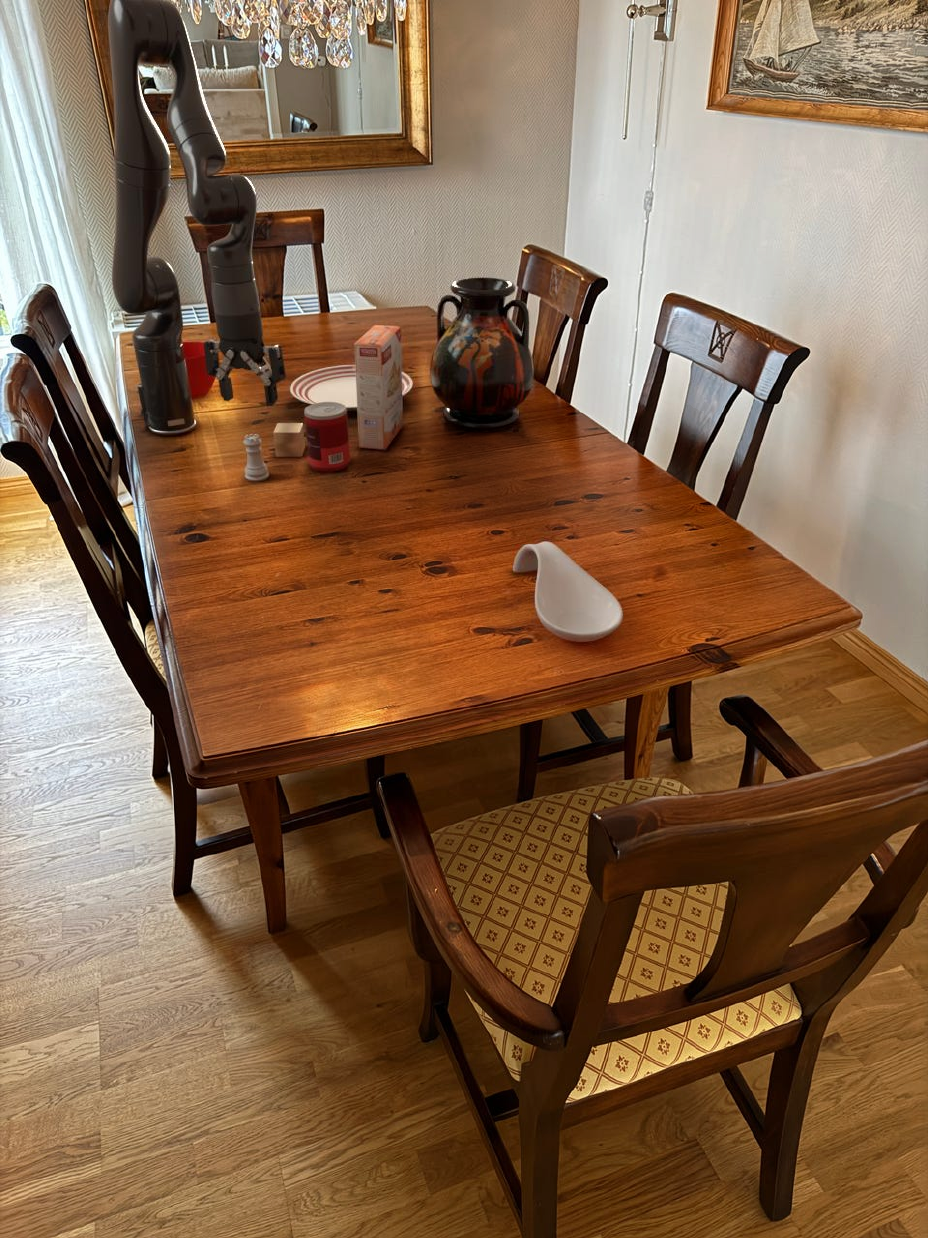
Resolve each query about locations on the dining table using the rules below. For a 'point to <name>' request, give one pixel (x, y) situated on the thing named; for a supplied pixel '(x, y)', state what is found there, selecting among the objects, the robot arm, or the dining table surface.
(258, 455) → the rook chess piece
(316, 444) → the canned food
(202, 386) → the ceramic cup
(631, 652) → the dining table surface
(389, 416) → the cracker box
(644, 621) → the dining table surface
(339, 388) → the dinner plate
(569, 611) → the spoon rest
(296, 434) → the maple block
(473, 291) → the amphora vase
